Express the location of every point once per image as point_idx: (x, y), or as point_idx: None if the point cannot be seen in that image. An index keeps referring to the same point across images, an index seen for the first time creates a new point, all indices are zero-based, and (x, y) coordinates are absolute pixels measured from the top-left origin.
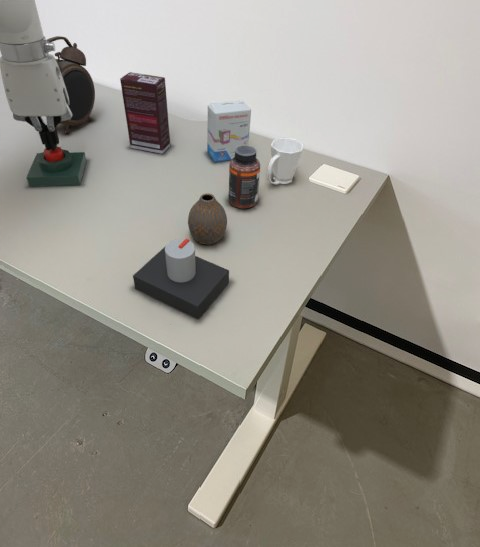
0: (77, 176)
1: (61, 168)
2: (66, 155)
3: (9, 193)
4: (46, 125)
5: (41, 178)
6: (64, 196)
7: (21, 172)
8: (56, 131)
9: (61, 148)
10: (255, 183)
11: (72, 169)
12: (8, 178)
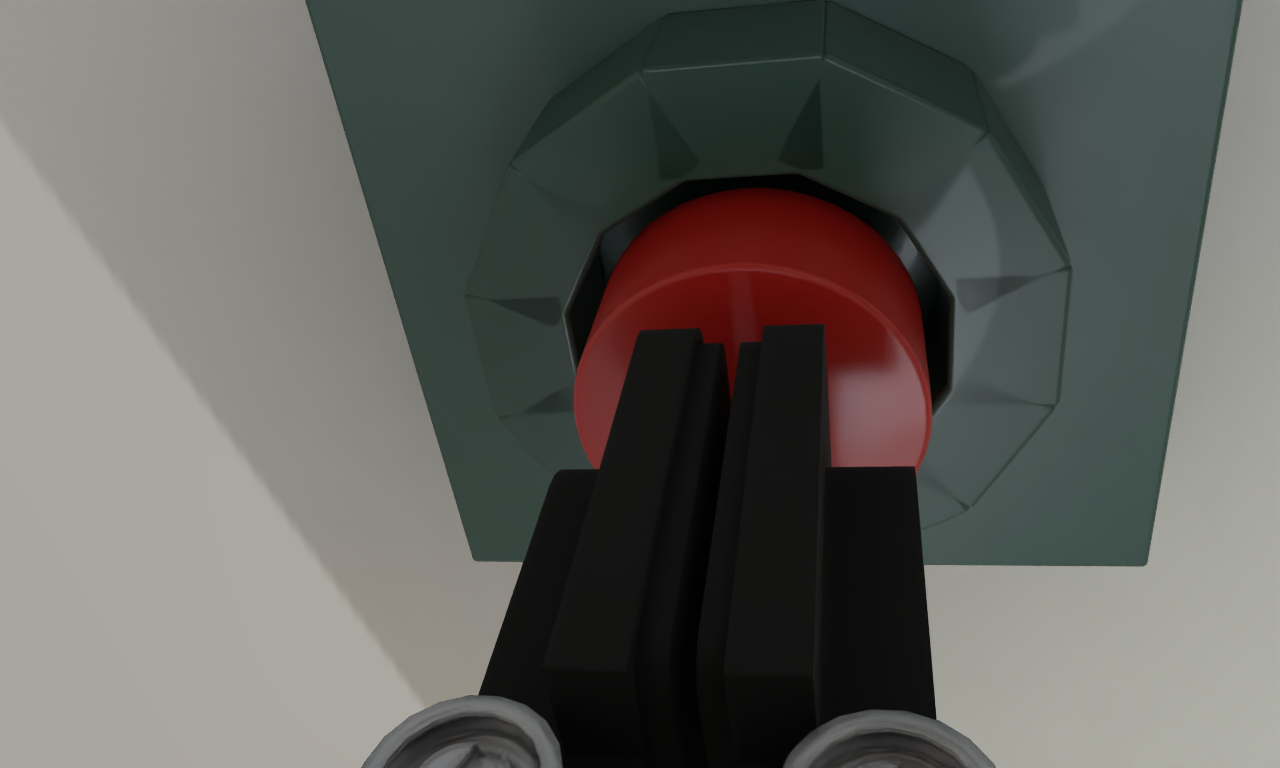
0: (1137, 564)
1: None
2: (978, 322)
3: (363, 561)
4: (626, 703)
5: None
6: (942, 635)
7: (246, 174)
8: (929, 665)
9: (911, 357)
10: None
11: (1053, 422)
12: (180, 310)
